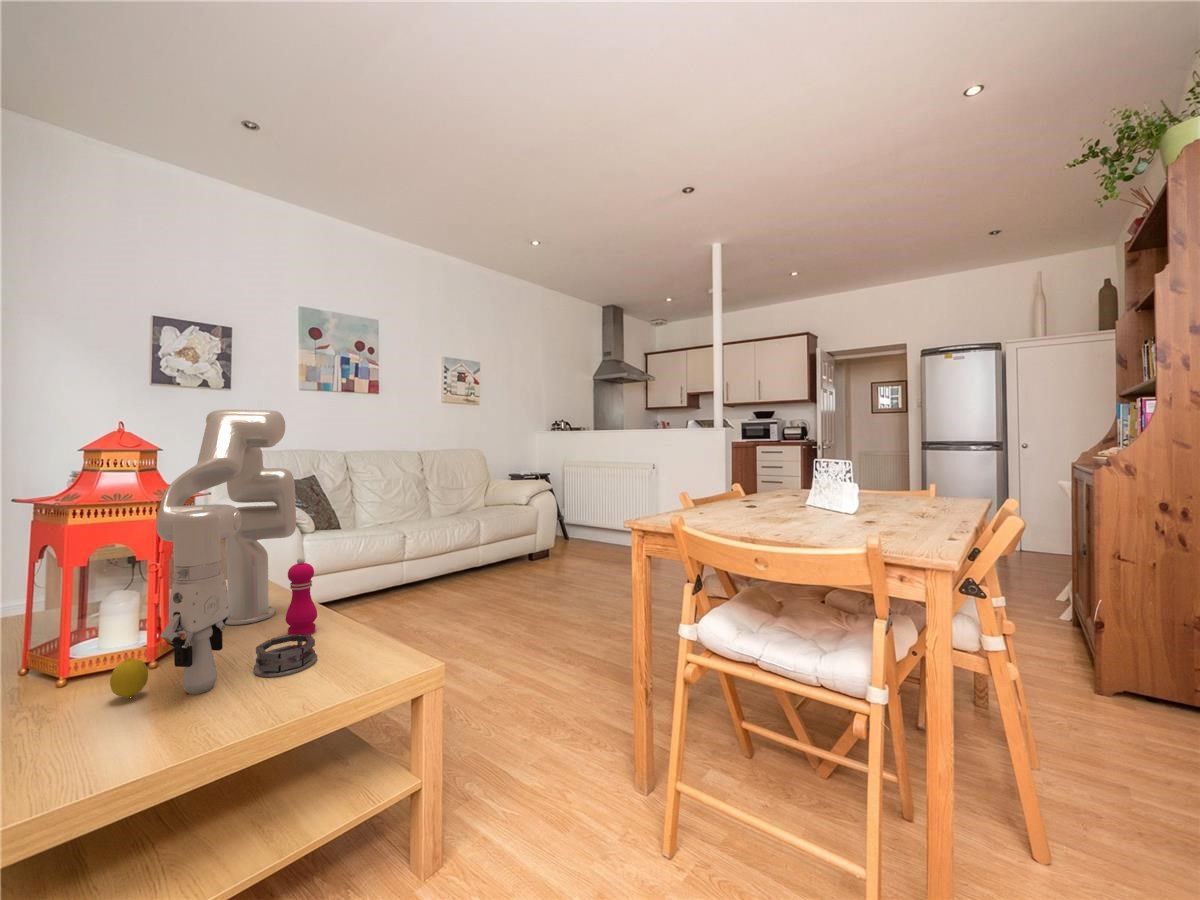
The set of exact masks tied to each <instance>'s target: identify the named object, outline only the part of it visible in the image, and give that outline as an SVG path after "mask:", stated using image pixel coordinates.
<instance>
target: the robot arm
mask: <svg viewBox="0 0 1200 900" xmlns="http://www.w3.org/2000/svg"><path fill="white" fill-rule="evenodd" d="M205 423H206V425H205V429H204V433H203V437H202V441H201V446H200V450H199V454H198V459H197V462H196V464H195V465H194V466H192V467H190V468H189V469H188V470H186V471H185V472H183V473H182V474H180V475H179V476H178V477H176V478H175V479H174V480H173V482H171V483H170V485H168V487H167V488H166V489H165V491H164V494H162V498H161V501H160V505H159V508H158V512H157V516H156V522H155V527H156V533H157V535H158V537H159V538H160V539H162V540H163V541H166V542H172V544H173V545H172V547H173V573H172V578H173V582H172V585H171V590H170V596H169V608H168V624H167V625H166V626H165V628H164V630H162V632H161V633H160V638H161V639H162V640H163V641H165V642H166V644H168V645H169V646H170V648H171V649H173V650H174V651H173V655H174V657H173V658H174V663H173V664H174V666H175V668H185V667H190V666H192V664H193V663H192V646H189V645H190V641H191V638H192V635H193V633H196V632H199V631H201V630H203V629H205V628H208V627H210V626H211V627H212V630H213V633H212V636H211V637H209V640H210V644H211V649H212V652H213V651H215V652H217V651H221V650H223V647H224V645H223V642H224V641H223V631H224V630H225V627H226V626H225V625H228V626H229V625H230V626H231V625H232V626H233V625H235V626H237V625H247V624H253V623H258V622H261V621H263V620H267V619H269V618H271V617H273V616H274V615H275V614H276V609H275V607H273V606H270V605H269V602H270V601H269V598H270V597H269V556H268V555H269V554H268V552H267V550H266V549H265V547H264V546H263V545H262V544H261V543H260V542H259V541H261V540H270V539H271V540H272V539H283V538H289V537H292V536H293V535H294V533H295V532H296V527H297V511H296V510H297V509H296V507H297V506H296V505H297V504H296V486H295V484H296V483H295V478H294V475H293V473H292V472H291V471H290V470H289V469H287V468H283V467H282V468H280V467H277V468H276V467H275V468H274V467H272V468H268V467H267V468H265V466H264V460H263V459H264V458H263V456H264V455H263V451H262V448H268V449H269V448H272V447H274V446H276V445H277V444H278V443H279V442H280V441H281V440H282V439H283V438H284V435H285V432H286V420H285V418H284V415H283V414H282V413H280V412H279V411H277V410H265V409H264V410H262V409H261V410H260V409H259V410H257V409H256V410H255V409H219V410H218V409H217V410H214V411H213V410H212V411H211V412H209V413H208V414H207V415H206V419H205ZM224 483H226V488H227V496H228V498H229V499H230V500H231V502H236V503H242V504H243V503H245V504H247V503H248V504H249V503H275V504H273V505H250V506H248V505H247V506H237V507H236V506H234V505H231V504H221V503H220V504H197V505H196V504H195V505H190V504H189V505H184V504H185V502H187V501H188V500H189V499H190V498H191V497H193V496H195V495H196V494H198V493H200V492H203V491H206V490H208V489H210V488H213V487H216V486H219V485H222V484H224ZM224 539H225V547H226V565H227V570H226V572H227V573H226V574H227V580H226V577H225V575H224V573H223V572H222V569H221V568H222V563H221V561H222V560H221V559H222V557H221V554H222V553H221V540H224ZM226 581H227V582H226ZM182 635H184V636H183V637H184V638H183V639H182Z"/></svg>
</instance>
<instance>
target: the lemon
mask: <svg viewBox="0 0 1200 900" xmlns="http://www.w3.org/2000/svg"><path fill="white" fill-rule="evenodd" d="M148 680H149V671H148V667H147V665H146V663H145V662H144V661H143V660H141V659H137V658H132V657H128V658H126V659H125V660H124V661H121V662H119V664H117V666H115V667H114V669H113V670H112V673H111V675H110V680H109V681H110V682H109V685H110V689H111V692H113V694H115V695H116V696H118V697H122V698H123V697H124V698H126V699H131V698H130V697H132V698H133V697H134V696H135V695H136V694H138V693H140V692H141V691H142V690H143V689H144V687H145V686H146V685H147V683H148Z"/></svg>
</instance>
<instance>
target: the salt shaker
mask: <svg viewBox="0 0 1200 900" xmlns="http://www.w3.org/2000/svg"><path fill="white" fill-rule="evenodd" d="M212 633H213V630H212V627H211V626H210V627H208V628H205V629H203V630H201V631H199V632H196V633H193V635H192V638H191V641H190V644H189V646H192V663H193V664H192V666H190V667H184V670H183V673H182V674H183V675H182V679H181V685H182V687H183V689H184V690H185V693H189V694H188V695H195V694H196V695H198V694H199V693H200V694H203V693H207V692H208V691H210V690H211V689H213V688H214V686H215V683H216V682H217V678H218V671H217V666H216V663H215V662H216V661H215V657H214V653H213V650H212V649H211V644H210V640H209V637H211V636H212Z"/></svg>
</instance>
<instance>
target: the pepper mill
mask: <svg viewBox="0 0 1200 900" xmlns="http://www.w3.org/2000/svg"><path fill="white" fill-rule="evenodd" d="M314 575H315V570H314V567H313V565H312V564H309V563H307V562H306V561H305V558H304V557H298V559H297V560H296V563H295V564H294V565H292V566H290V568H289V569H288V571H287V578H288V579H287V580H289V581H290V583H289V586H290V587H289V588H290V590H291V593H292V594H291V599H290V600H291V601H290V603H289V606H288V609H287V611H286V614H285V623H286V624H287V625H288V628H287V635H290V634H291V635H292V634H308V635H313V634H314V633H315V632H316V623H315V621H316V619H317V618H318V611H317V607H316V605H315V603H314V601H313V599H312V596H311V588H312V587H313V584H312V583H313V580H312V578H313V577H314Z"/></svg>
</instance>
